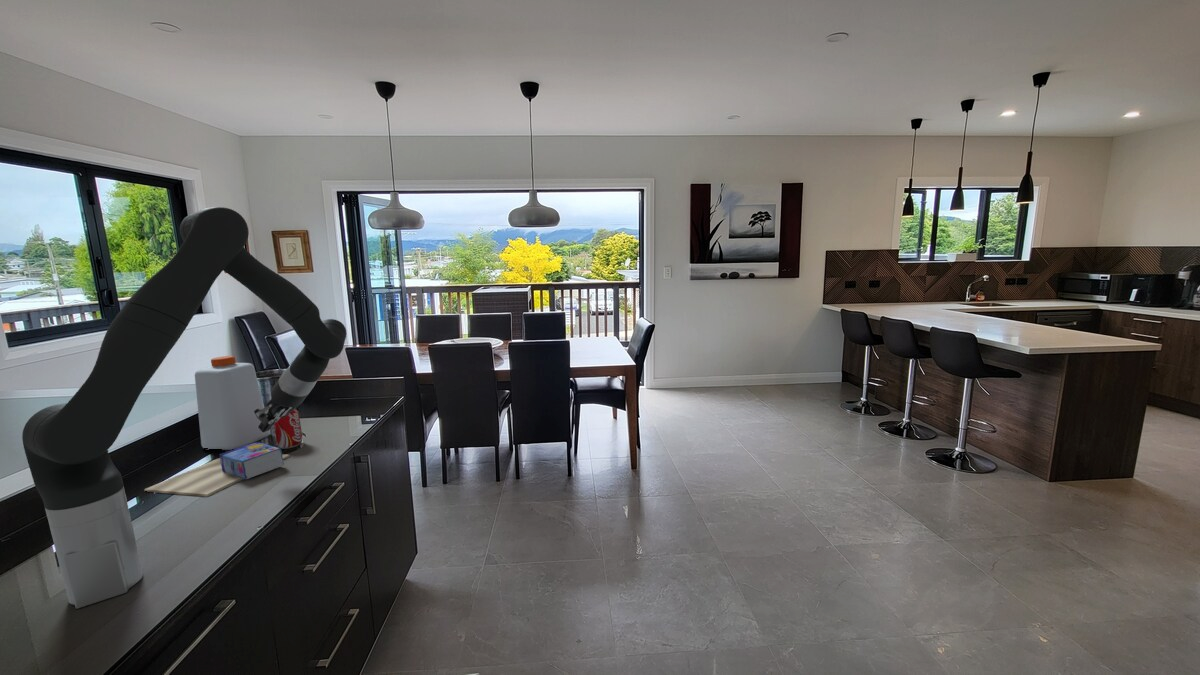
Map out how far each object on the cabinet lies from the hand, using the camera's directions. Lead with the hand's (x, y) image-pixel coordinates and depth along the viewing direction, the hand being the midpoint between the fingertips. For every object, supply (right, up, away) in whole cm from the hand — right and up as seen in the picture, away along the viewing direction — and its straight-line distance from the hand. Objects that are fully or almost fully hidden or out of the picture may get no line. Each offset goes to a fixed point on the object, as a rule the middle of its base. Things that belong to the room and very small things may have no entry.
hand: (262, 429), depth 125 cm
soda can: (-8, -10, +24) cm, 27 cm away
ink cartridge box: (-2, -10, +3) cm, 10 cm away
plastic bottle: (-29, -10, +30) cm, 43 cm away
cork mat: (-15, -13, +6) cm, 21 cm away
